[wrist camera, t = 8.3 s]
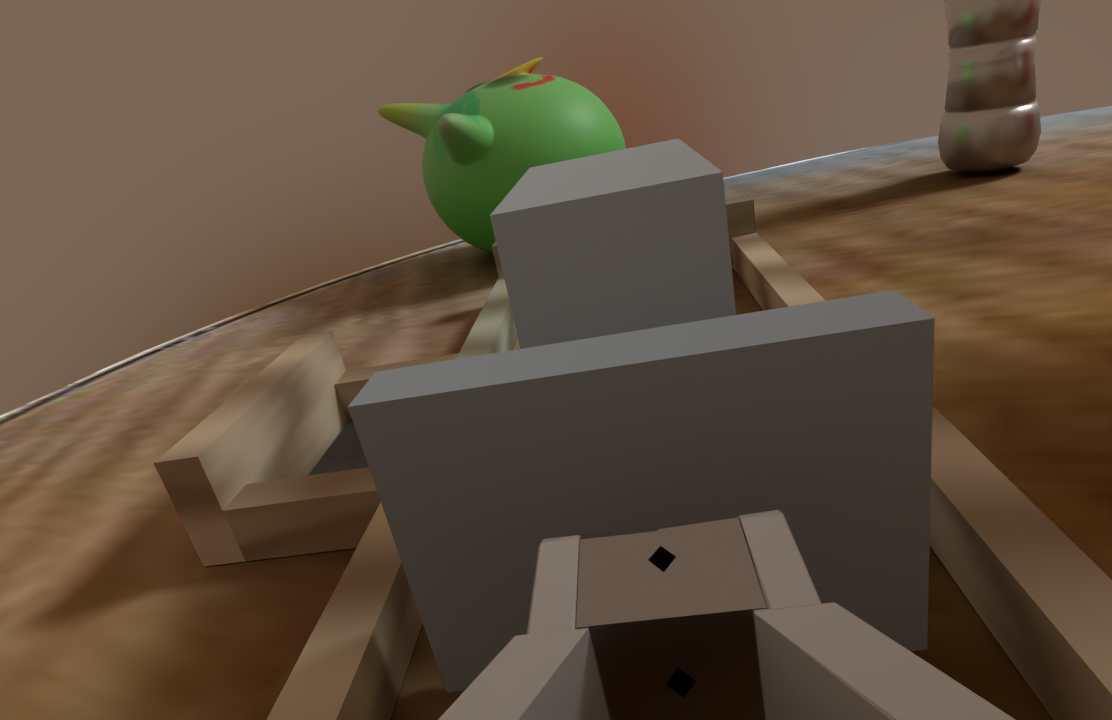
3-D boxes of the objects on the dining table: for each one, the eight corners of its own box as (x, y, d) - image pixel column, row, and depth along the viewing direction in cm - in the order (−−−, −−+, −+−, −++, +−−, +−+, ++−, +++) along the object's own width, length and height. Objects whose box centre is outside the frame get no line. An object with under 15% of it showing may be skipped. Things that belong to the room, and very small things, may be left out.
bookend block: (926, 695, 13) (936, 187, 9) (460, 732, 14) (309, 297, 11) (745, 352, 30) (724, 119, 26) (536, 384, 31) (487, 165, 27)
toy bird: (679, 233, 52) (653, 30, 47) (489, 298, 46) (434, 69, 40) (564, 220, 68) (535, 65, 62) (408, 267, 61) (360, 97, 55)
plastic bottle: (1005, 181, 48) (1024, -150, 41) (918, 179, 54) (921, -111, 46) (1057, 161, 50) (1084, -155, 43) (969, 162, 56) (979, -117, 49)
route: (1296, 890, 9) (1372, 679, 8) (-112, 950, 12) (-250, 805, 11) (753, 258, 42) (748, 195, 41) (408, 316, 45) (392, 260, 44)
